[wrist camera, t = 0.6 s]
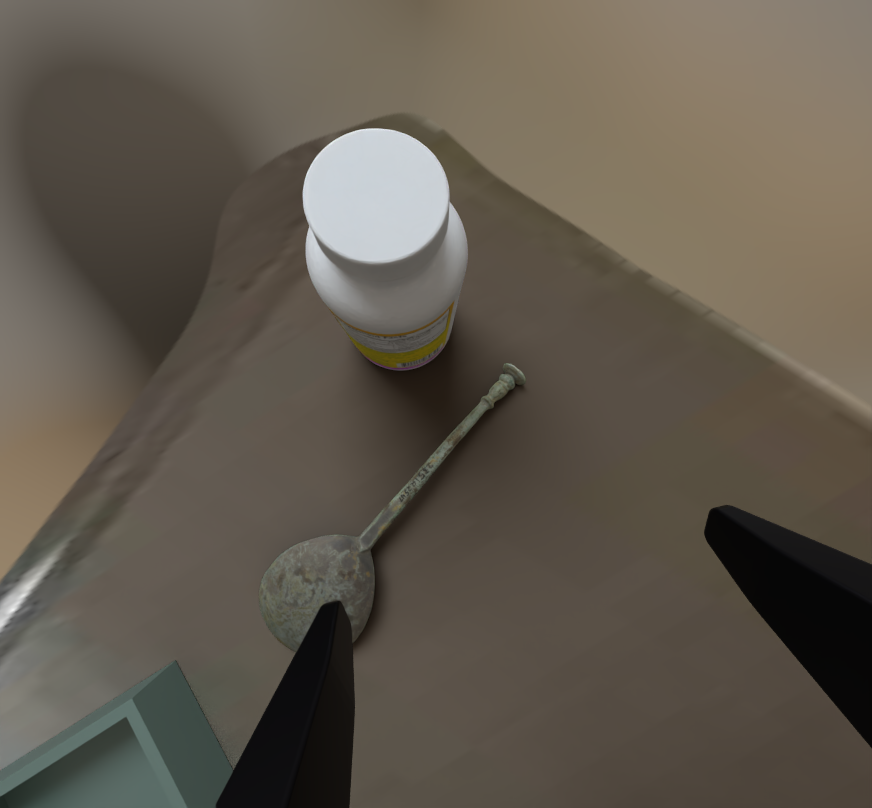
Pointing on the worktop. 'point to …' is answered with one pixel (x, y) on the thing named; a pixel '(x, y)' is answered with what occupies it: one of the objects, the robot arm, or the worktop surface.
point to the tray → (126, 755)
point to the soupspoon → (350, 551)
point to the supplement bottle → (385, 245)
